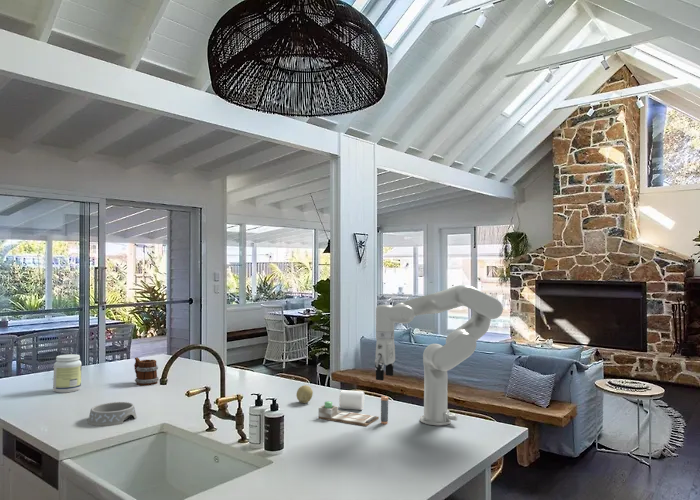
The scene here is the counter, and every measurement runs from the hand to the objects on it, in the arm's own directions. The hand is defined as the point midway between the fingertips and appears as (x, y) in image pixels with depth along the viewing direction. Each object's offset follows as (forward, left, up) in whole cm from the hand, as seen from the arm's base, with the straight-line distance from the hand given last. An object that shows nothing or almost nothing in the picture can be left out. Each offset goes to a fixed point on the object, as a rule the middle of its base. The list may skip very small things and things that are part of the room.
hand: (384, 377), depth 214 cm
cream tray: (+15, +2, -18) cm, 24 cm away
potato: (+44, -10, -19) cm, 49 cm away
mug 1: (+138, -2, -19) cm, 140 cm away
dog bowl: (+98, +50, -19) cm, 112 cm away
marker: (0, 0, -18) cm, 18 cm away
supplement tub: (+158, +28, -19) cm, 162 cm away
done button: (+23, +5, -15) cm, 28 cm away
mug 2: (+21, -14, -19) cm, 32 cm away
